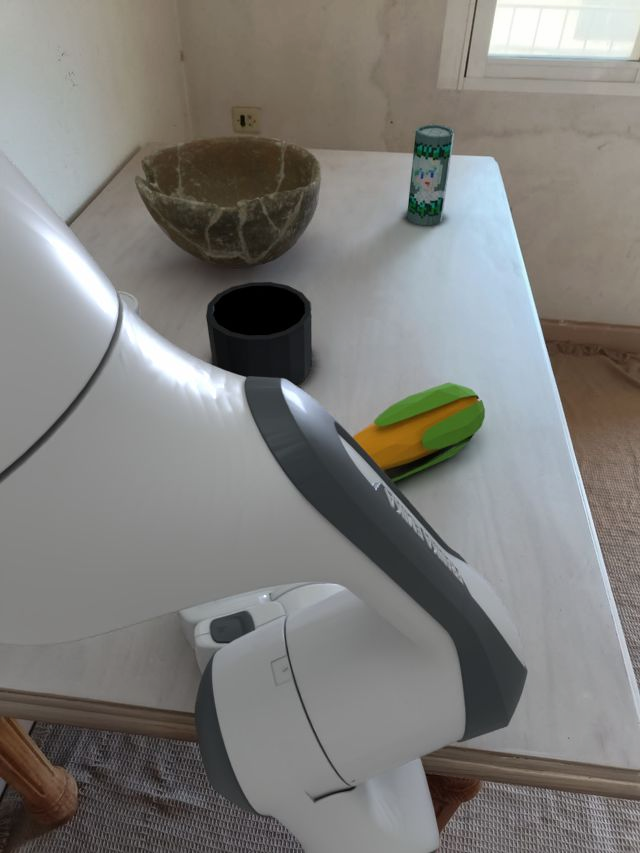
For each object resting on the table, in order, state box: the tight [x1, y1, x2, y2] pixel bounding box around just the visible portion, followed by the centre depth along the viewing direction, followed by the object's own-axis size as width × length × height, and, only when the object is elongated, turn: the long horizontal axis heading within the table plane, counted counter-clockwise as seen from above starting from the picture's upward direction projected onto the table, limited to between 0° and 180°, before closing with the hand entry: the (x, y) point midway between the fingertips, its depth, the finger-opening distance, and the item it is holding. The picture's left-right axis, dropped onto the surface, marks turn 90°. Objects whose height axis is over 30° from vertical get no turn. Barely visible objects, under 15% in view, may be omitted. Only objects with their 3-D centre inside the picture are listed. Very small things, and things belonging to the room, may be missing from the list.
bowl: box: [134, 135, 322, 268], centre depth 97 cm, size 28×27×15 cm
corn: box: [352, 382, 486, 483], centre depth 67 cm, size 7×8×20 cm
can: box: [406, 123, 455, 227], centre depth 108 cm, size 6×6×15 cm
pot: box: [205, 281, 313, 387], centre depth 79 cm, size 13×13×8 cm
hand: (273, 500), depth 57 cm, fingers closed on lid, 3 cm apart
